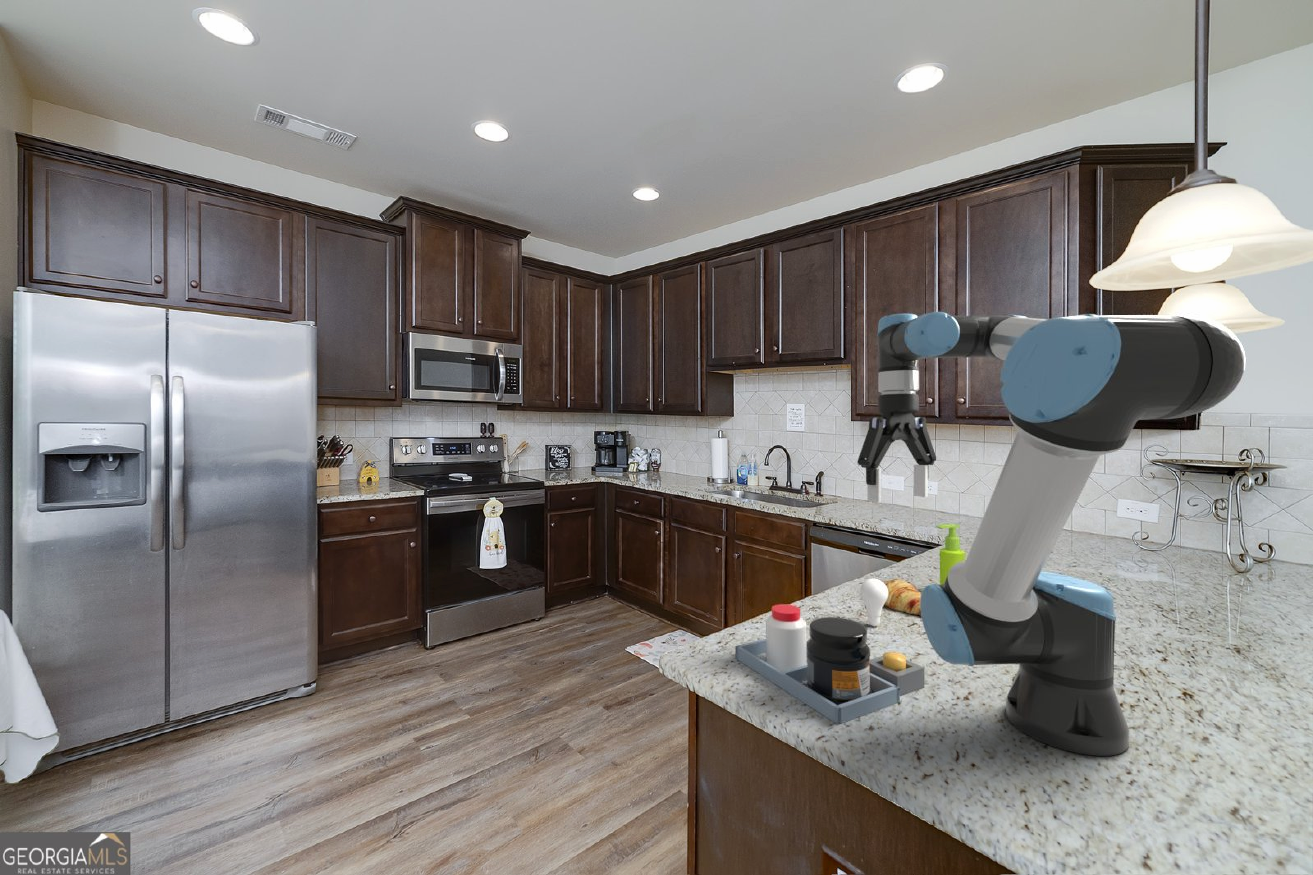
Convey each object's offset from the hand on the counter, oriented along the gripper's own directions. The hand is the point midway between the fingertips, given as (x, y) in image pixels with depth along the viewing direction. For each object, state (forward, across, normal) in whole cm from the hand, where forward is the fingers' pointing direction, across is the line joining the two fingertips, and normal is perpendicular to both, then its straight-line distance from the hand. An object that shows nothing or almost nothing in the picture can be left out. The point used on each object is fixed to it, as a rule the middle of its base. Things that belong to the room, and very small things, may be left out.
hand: (898, 499), depth 110 cm
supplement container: (+32, +23, +6) cm, 40 cm away
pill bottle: (+32, +23, -8) cm, 40 cm away
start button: (+30, +11, +8) cm, 33 cm away
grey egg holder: (+32, +11, +8) cm, 34 cm away
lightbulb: (+32, -8, -13) cm, 35 cm away
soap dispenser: (+32, -40, -16) cm, 54 cm away
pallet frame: (+32, +23, -1) cm, 39 cm away
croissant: (+32, -25, -19) cm, 45 cm away
